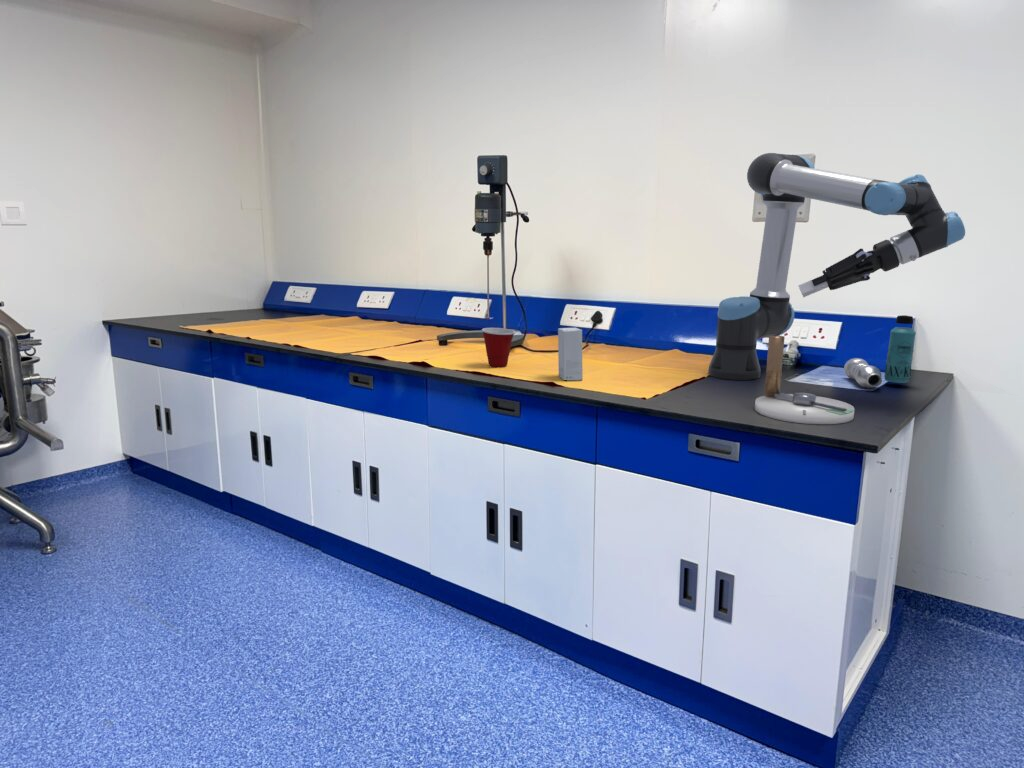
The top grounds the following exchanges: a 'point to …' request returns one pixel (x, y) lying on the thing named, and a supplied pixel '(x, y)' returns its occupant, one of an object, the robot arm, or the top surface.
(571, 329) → the skincare box
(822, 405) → the crank handle
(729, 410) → the top surface
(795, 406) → the round white plate
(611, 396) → the top surface
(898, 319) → the beverage bottle
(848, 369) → the silver metal bottle
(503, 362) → the plastic cup
